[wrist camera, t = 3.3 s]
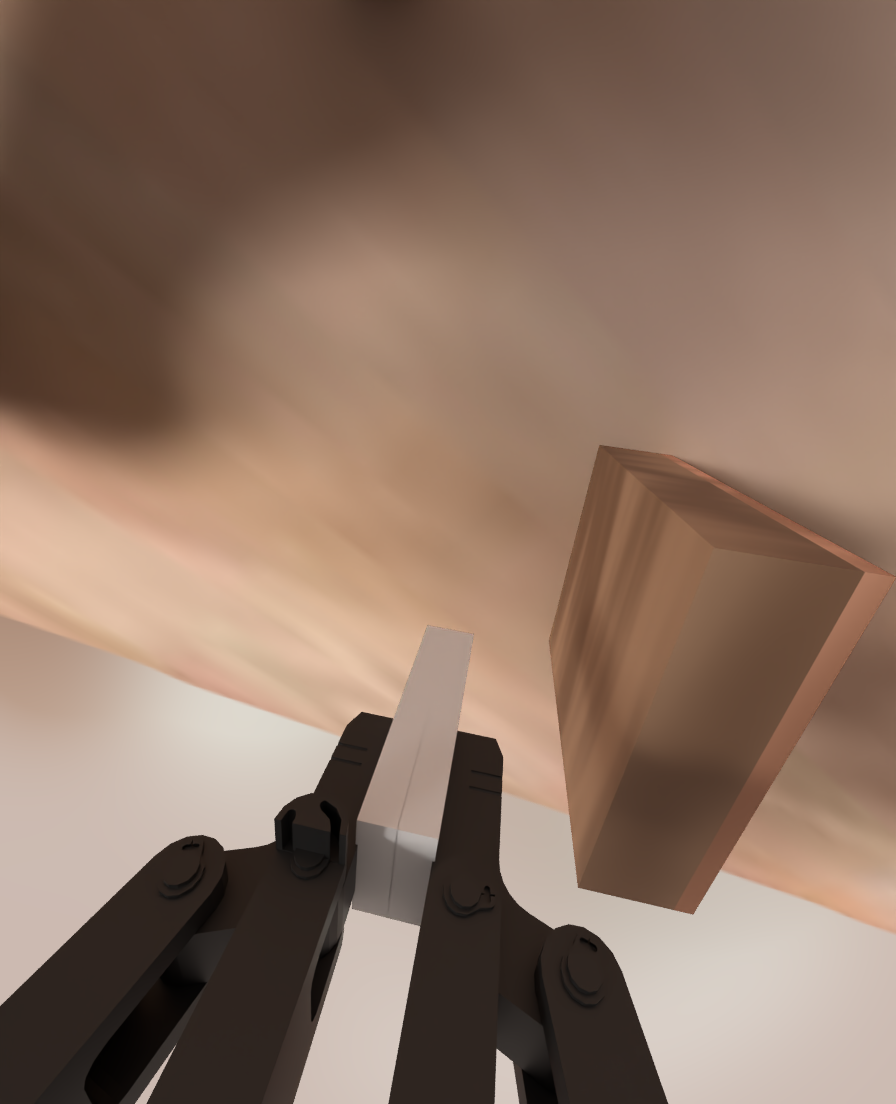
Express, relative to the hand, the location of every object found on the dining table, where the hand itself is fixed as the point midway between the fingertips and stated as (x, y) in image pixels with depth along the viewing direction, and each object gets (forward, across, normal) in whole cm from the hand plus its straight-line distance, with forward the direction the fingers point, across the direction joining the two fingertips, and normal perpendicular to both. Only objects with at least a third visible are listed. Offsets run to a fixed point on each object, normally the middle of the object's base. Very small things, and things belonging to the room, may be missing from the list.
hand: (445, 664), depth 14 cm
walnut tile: (+12, +7, 0) cm, 14 cm away
